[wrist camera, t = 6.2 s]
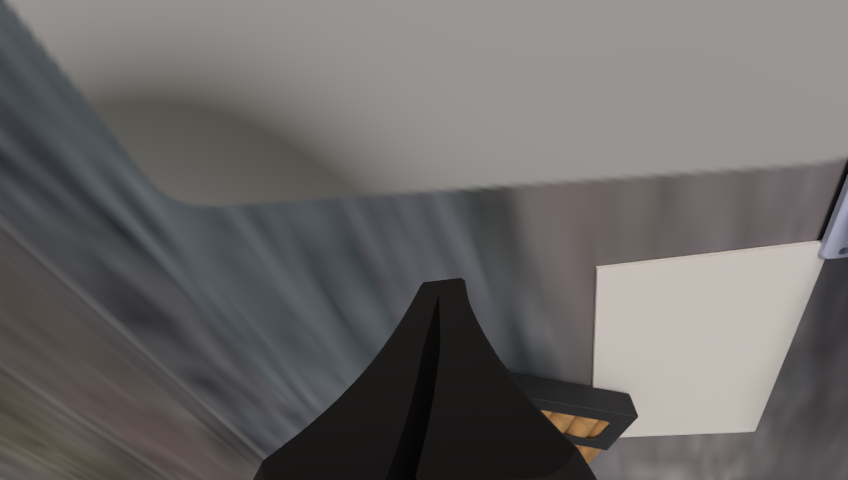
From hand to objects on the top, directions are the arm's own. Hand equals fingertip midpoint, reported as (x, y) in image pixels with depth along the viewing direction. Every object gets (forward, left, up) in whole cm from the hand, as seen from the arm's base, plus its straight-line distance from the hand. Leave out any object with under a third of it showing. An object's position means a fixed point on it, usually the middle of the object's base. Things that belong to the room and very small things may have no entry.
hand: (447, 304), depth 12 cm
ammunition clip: (-6, +17, -9) cm, 20 cm away
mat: (-14, +16, -10) cm, 24 cm away
